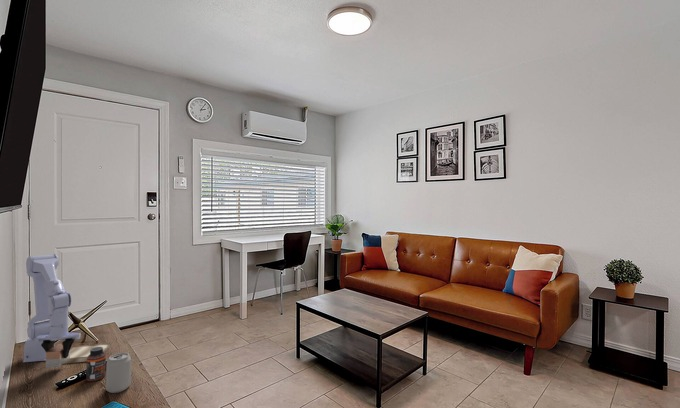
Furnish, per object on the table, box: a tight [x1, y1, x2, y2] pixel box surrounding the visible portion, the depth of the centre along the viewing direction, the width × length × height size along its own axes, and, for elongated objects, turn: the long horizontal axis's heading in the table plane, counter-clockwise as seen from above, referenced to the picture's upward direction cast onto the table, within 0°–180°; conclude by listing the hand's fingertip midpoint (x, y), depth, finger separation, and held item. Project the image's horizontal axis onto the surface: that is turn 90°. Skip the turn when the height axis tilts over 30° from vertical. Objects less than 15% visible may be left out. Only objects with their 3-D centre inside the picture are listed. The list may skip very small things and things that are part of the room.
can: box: [105, 352, 132, 394], centre depth 123 cm, size 8×8×12 cm
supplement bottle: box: [85, 347, 107, 382], centre depth 130 cm, size 6×6×11 cm
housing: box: [45, 343, 70, 369], centre depth 135 cm, size 4×8×6 cm, turn 15°
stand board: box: [63, 343, 111, 364], centre depth 149 cm, size 14×14×2 cm
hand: (58, 357), depth 136 cm, fingers closed on housing, 4 cm apart
